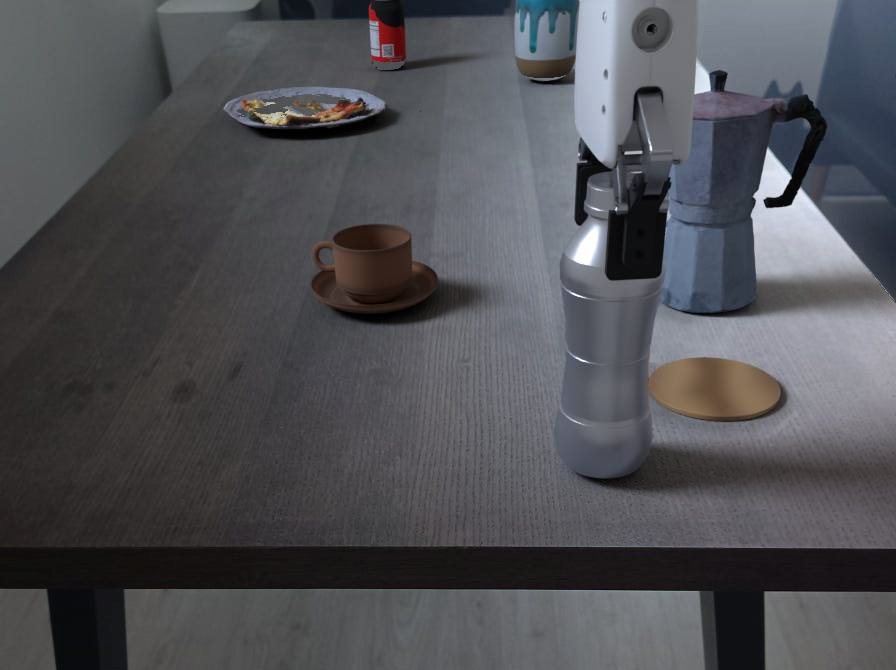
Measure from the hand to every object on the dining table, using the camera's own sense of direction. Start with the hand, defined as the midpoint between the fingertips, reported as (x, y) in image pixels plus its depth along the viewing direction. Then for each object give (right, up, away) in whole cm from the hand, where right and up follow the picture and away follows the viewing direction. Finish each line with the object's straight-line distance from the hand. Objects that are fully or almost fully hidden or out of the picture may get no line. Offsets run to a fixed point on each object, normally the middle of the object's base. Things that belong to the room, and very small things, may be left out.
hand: (614, 248), depth 64 cm
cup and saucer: (-16, +3, +35) cm, 39 cm away
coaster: (+11, -7, +17) cm, 22 cm away
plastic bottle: (+1, -13, +9) cm, 16 cm away
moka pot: (+15, +3, +33) cm, 36 cm away
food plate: (-29, +41, +96) cm, 108 cm away
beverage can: (-17, +61, +126) cm, 141 cm away
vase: (+10, +54, +113) cm, 125 cm away
